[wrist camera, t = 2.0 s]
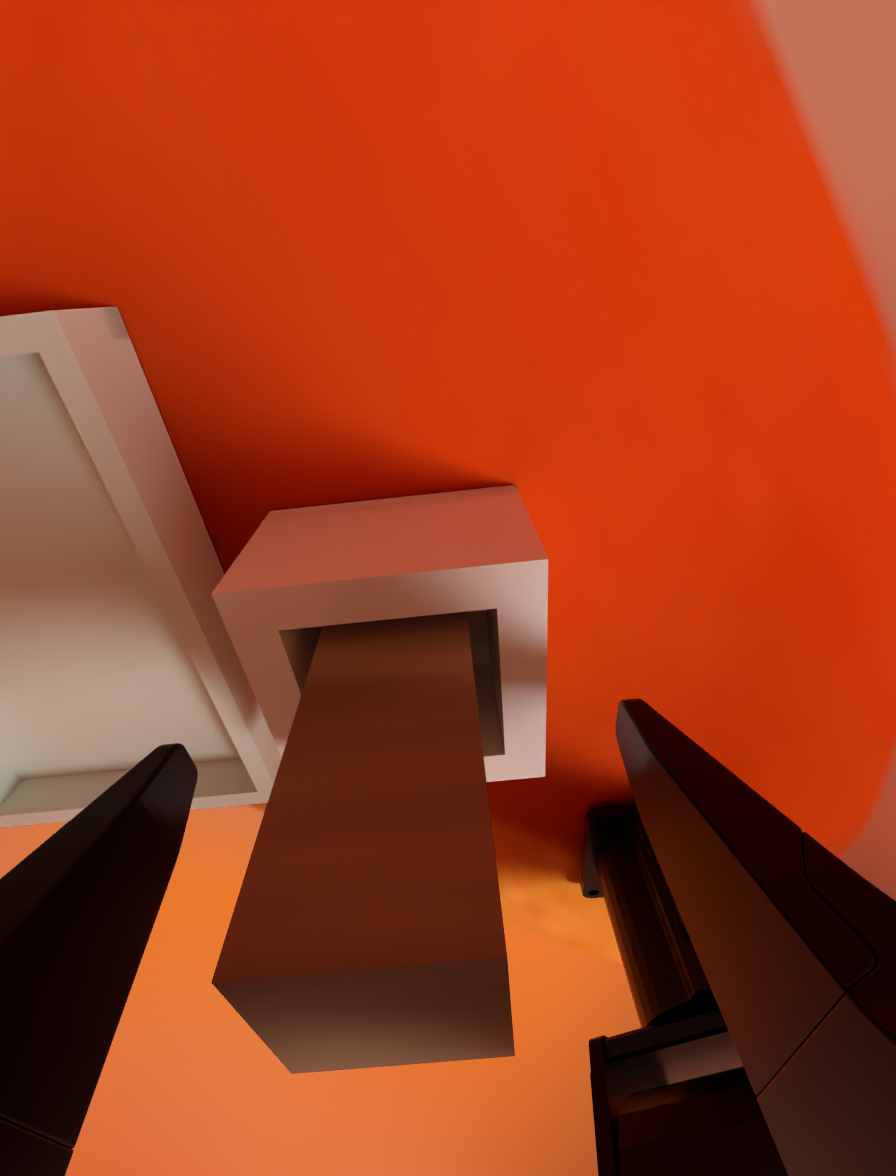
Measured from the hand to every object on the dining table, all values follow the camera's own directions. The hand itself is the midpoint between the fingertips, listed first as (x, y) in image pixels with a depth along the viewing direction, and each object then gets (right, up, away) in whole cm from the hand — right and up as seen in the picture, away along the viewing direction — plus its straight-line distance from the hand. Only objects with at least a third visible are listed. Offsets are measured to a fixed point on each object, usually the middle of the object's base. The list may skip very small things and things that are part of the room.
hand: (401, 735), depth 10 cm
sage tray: (-10, +2, +4) cm, 11 cm away
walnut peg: (0, +2, +4) cm, 4 cm away
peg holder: (0, +3, +4) cm, 5 cm away
